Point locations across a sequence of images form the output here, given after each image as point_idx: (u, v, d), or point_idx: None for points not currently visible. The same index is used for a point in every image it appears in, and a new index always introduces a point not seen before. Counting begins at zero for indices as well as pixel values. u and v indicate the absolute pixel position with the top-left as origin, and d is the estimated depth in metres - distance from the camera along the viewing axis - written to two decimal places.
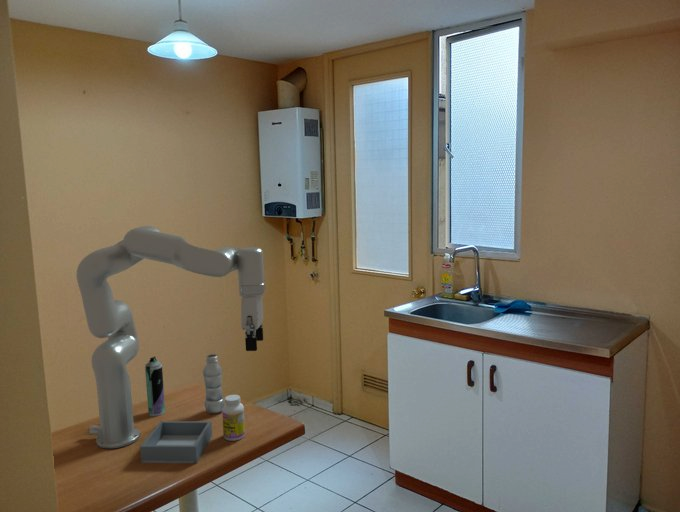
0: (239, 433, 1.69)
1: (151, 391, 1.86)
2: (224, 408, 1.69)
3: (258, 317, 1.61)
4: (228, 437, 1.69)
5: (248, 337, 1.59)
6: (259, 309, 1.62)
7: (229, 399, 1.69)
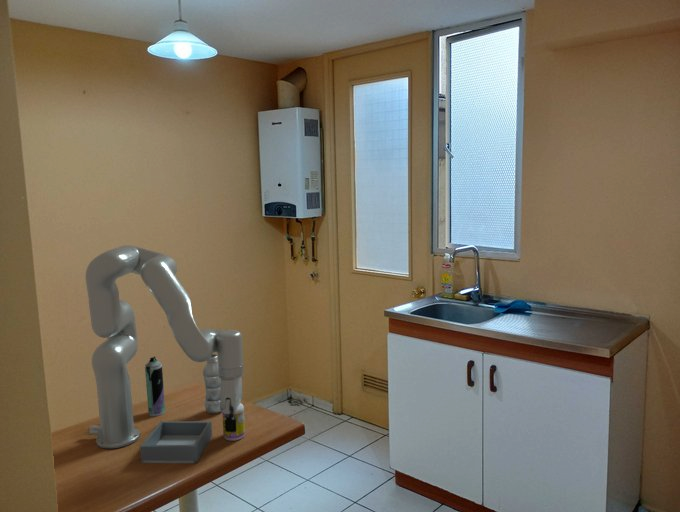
0: (239, 433, 1.69)
1: (151, 391, 1.86)
2: None
3: (236, 398, 1.67)
4: (228, 437, 1.69)
5: (227, 419, 1.66)
6: (238, 390, 1.68)
7: None
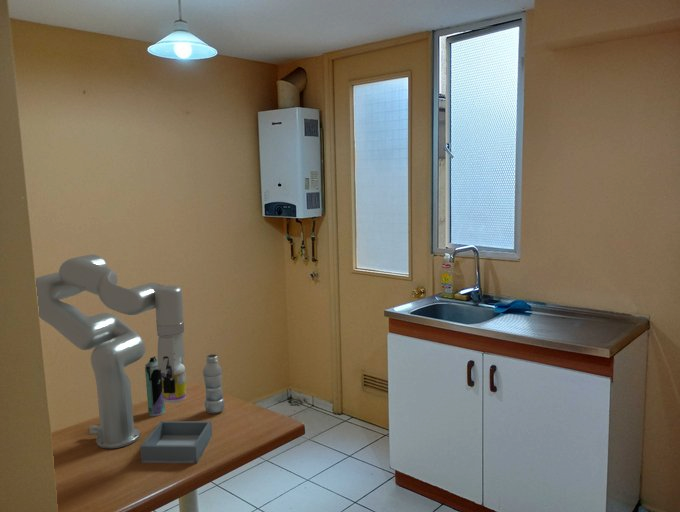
0: (179, 395, 1.60)
1: (151, 391, 1.86)
2: None
3: (175, 358, 1.57)
4: (167, 398, 1.59)
5: (165, 379, 1.57)
6: (177, 349, 1.58)
7: None
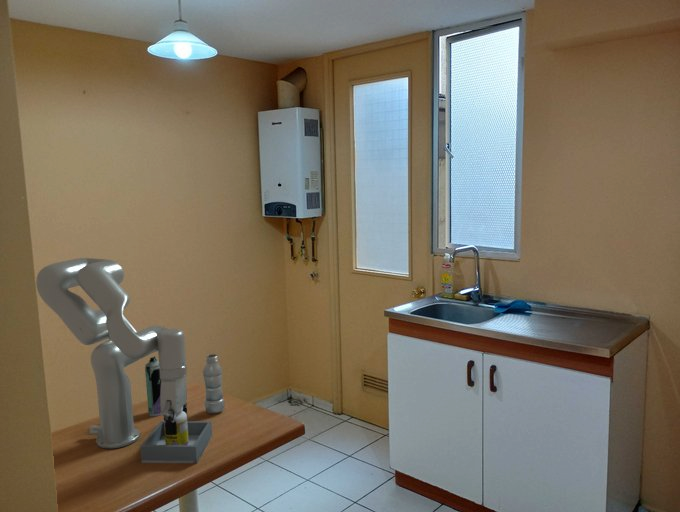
0: (181, 443, 1.62)
1: (151, 391, 1.86)
2: None
3: (178, 401, 1.59)
4: None
5: (167, 422, 1.57)
6: (179, 392, 1.60)
7: None
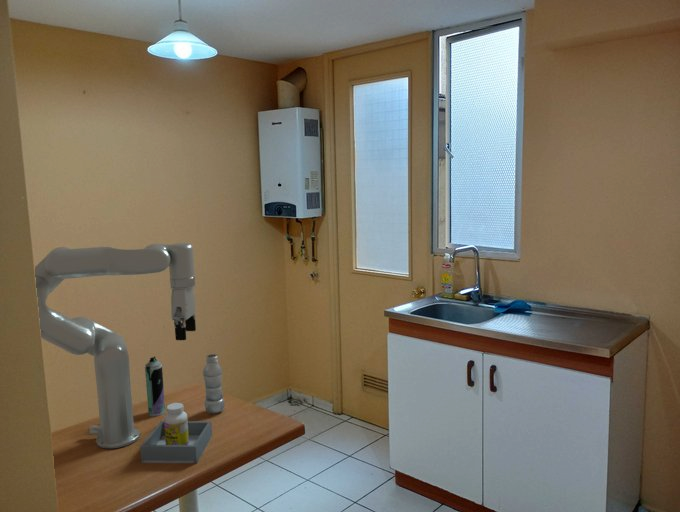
0: (182, 443, 1.62)
1: (151, 391, 1.86)
2: (166, 417, 1.62)
3: (187, 308, 1.71)
4: None
5: (177, 327, 1.69)
6: (189, 301, 1.72)
7: (171, 408, 1.61)
